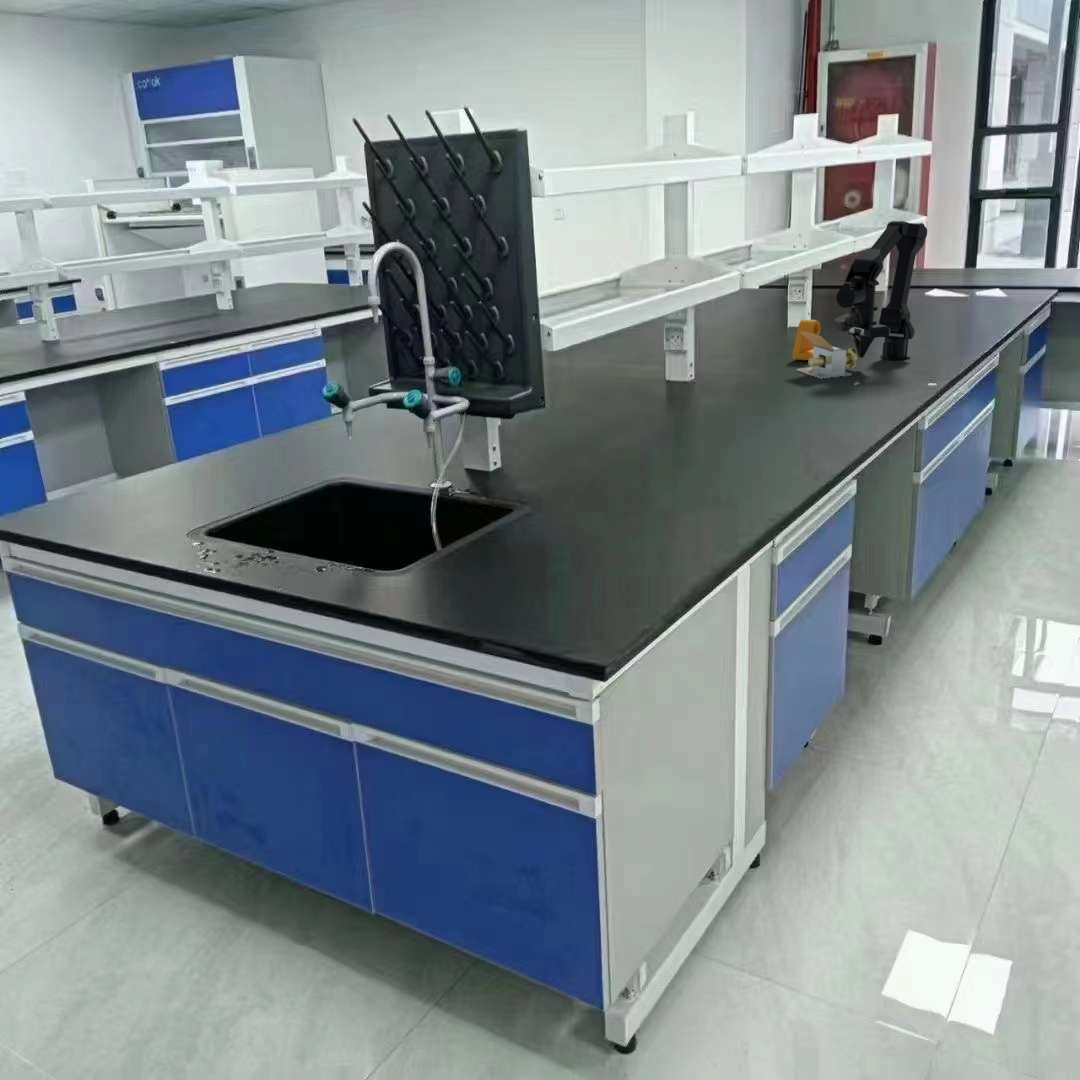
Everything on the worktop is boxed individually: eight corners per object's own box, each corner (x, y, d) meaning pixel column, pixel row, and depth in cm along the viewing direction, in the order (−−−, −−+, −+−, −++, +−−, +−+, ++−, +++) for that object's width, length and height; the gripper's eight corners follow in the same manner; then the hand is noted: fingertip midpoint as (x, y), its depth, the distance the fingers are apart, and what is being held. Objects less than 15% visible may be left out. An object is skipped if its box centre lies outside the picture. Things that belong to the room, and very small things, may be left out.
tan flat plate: (813, 346, 302) (815, 343, 302) (832, 352, 293) (835, 349, 292) (798, 333, 299) (801, 330, 299) (817, 339, 290) (820, 335, 290)
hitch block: (827, 367, 307) (828, 343, 304) (851, 375, 295) (853, 350, 293) (796, 370, 304) (798, 346, 302) (820, 378, 293) (821, 354, 290)
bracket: (813, 363, 314) (815, 323, 310) (792, 361, 318) (793, 321, 314) (830, 357, 321) (832, 318, 317) (809, 355, 326) (811, 316, 322)
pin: (845, 365, 304) (847, 346, 302) (856, 369, 299) (857, 349, 297) (804, 370, 301) (805, 351, 299) (815, 373, 296) (815, 354, 294)
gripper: (821, 301, 303) (819, 355, 308) (857, 309, 286) (854, 366, 291) (855, 298, 305) (852, 351, 311) (892, 306, 289) (888, 361, 294)
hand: (860, 357), depth 302 cm, fingers closed
